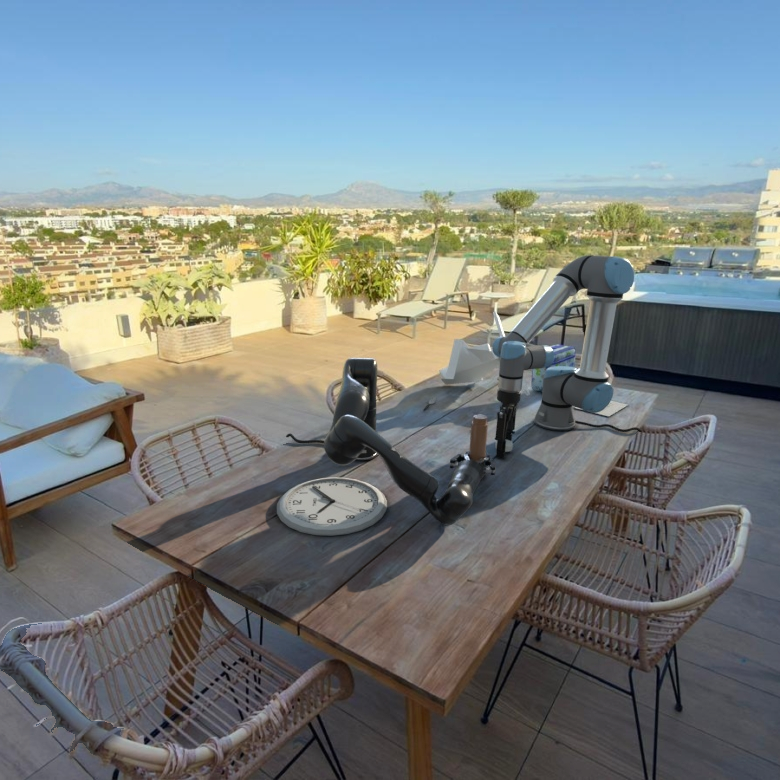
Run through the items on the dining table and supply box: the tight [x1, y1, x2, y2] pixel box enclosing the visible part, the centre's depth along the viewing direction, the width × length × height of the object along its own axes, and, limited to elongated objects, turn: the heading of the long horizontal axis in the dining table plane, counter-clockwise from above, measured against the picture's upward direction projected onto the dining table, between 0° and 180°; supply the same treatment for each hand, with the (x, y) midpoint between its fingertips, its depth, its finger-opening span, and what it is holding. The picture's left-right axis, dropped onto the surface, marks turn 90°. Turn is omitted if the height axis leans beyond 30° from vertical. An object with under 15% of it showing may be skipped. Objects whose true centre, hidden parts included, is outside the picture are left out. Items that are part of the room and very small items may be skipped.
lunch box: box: [530, 344, 577, 392], centre depth 247 cm, size 26×11×21 cm, turn 134°
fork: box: [422, 395, 437, 412], centre depth 223 cm, size 3×16×2 cm, turn 160°
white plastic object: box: [438, 310, 531, 397], centre depth 245 cm, size 37×45×31 cm
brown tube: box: [468, 413, 489, 480], centre depth 158 cm, size 5×5×19 cm
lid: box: [494, 439, 514, 453], centre depth 175 cm, size 6×6×2 cm
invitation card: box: [573, 400, 629, 418], centre depth 226 cm, size 21×1×15 cm
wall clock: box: [276, 476, 388, 537], centre depth 142 cm, size 30×2×30 cm
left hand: (478, 454), depth 162 cm, fingers closed on brown tube, 5 cm apart
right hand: (503, 454), depth 176 cm, fingers closed on lid, 6 cm apart
